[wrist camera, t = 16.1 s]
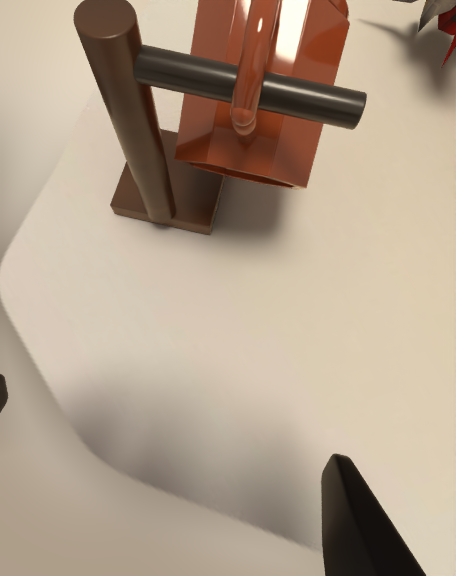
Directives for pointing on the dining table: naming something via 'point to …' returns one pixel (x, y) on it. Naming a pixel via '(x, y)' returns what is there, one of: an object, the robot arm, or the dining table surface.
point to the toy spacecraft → (440, 17)
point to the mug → (260, 87)
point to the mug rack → (162, 144)
